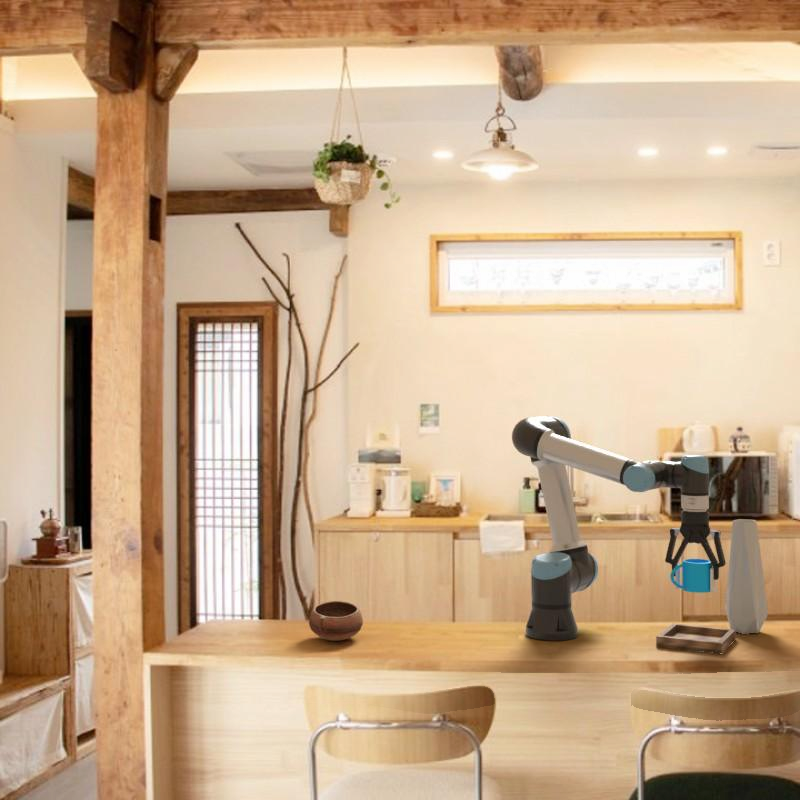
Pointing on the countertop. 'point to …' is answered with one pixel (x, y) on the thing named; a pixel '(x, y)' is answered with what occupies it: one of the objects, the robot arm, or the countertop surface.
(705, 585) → the mug
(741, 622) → the vase
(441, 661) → the countertop surface
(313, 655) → the countertop surface
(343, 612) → the bowl
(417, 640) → the countertop surface
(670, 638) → the tray
